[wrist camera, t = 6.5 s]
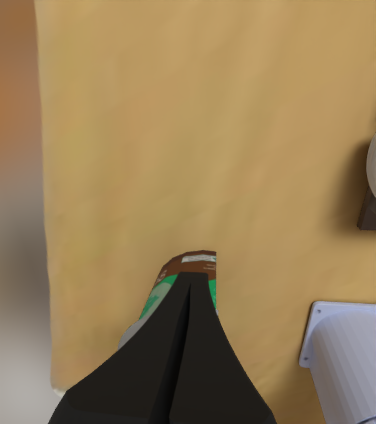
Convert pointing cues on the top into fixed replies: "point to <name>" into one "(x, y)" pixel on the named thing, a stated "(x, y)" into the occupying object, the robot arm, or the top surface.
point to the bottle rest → (368, 212)
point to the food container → (166, 278)
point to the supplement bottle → (372, 165)
